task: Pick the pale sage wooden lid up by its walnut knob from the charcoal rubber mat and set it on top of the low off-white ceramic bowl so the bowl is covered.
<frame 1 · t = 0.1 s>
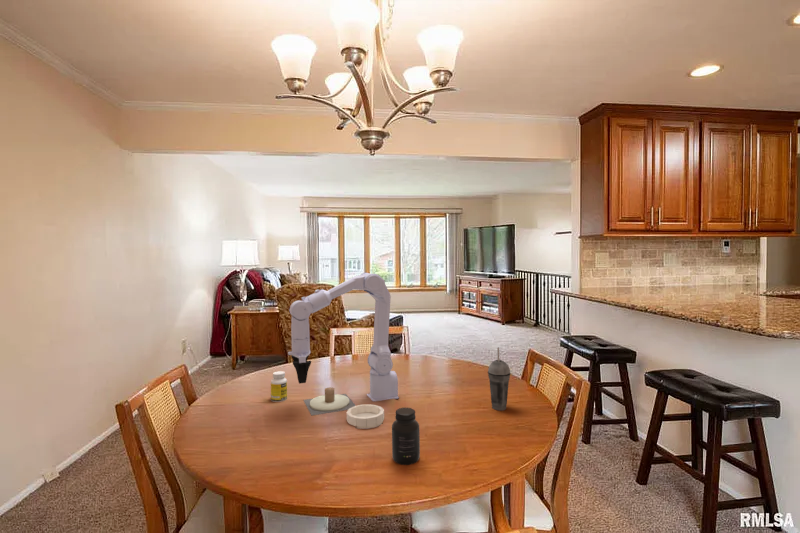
hand: (301, 379, 133), 10 cm above the table, tool pointing down, fingers open, 7 cm apart
supplement bottle: (406, 459, 101), on the table
bowl: (365, 420, 124), on the table
mat: (329, 405, 137), on the table
lid: (329, 403, 137), point 1 cm above the table, touching mat
supplement bottle 2: (279, 401, 143), on the table
beverage cup: (499, 408, 134), on the table
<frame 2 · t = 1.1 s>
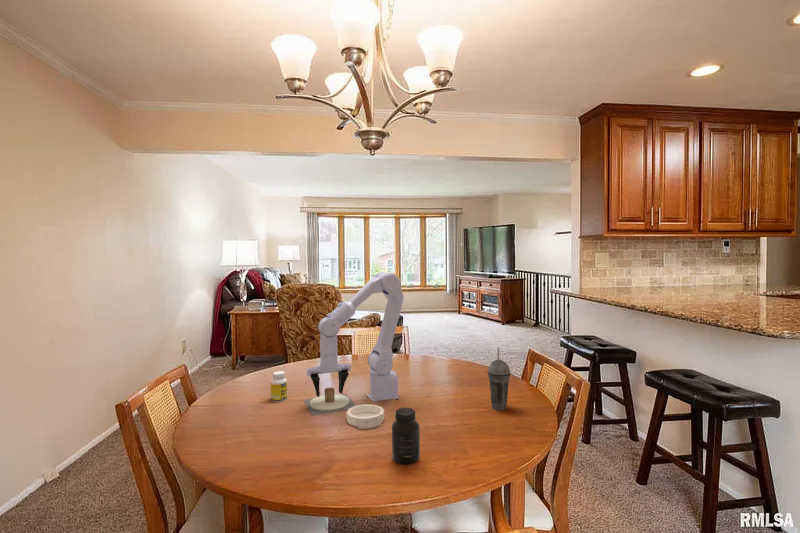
hand: (329, 394, 137), 4 cm above the table, tool pointing down, fingers open, 7 cm apart
nothing on the table moved.
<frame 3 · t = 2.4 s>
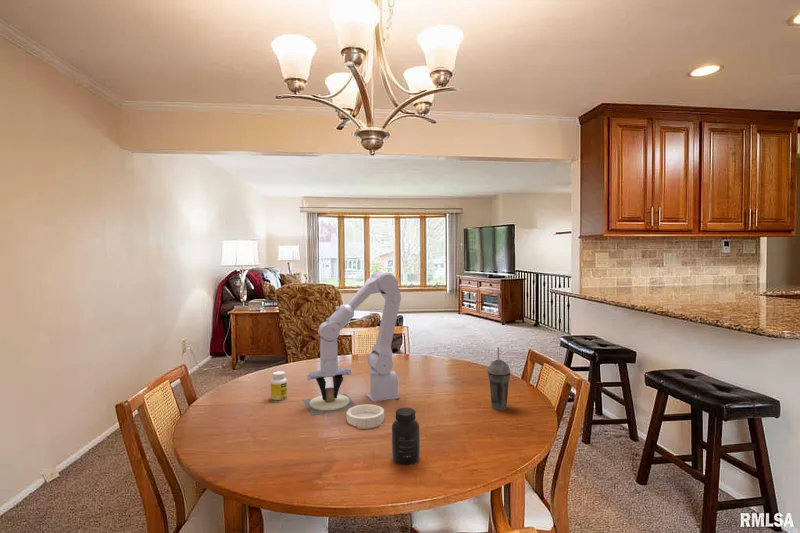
hand: (329, 398, 137), 2 cm above the table, tool pointing down, fingers closed on lid, 3 cm apart
lid: (329, 403, 137), point 1 cm above the table, touching gripper, mat
everything else where it was.
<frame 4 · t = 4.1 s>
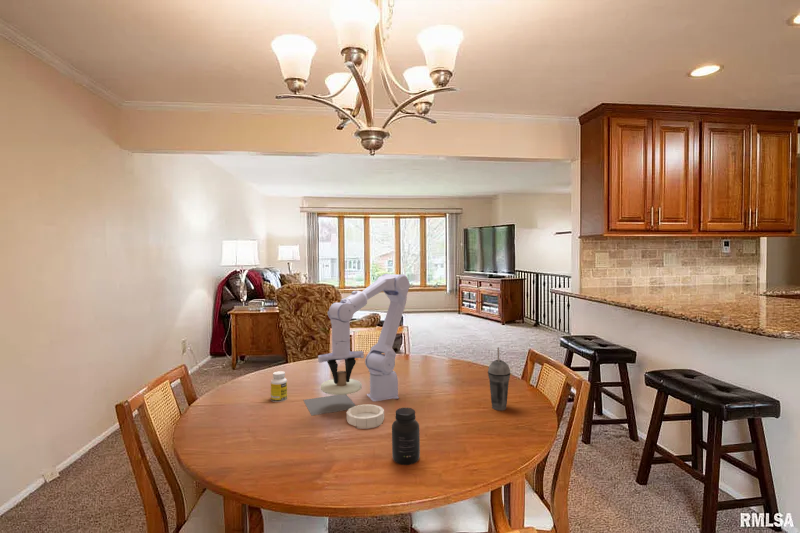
hand: (341, 382, 132), 9 cm above the table, tool pointing down, fingers closed on lid, 3 cm apart
lid: (341, 387, 132), point 8 cm above the table, touching gripper
everything else where it was.
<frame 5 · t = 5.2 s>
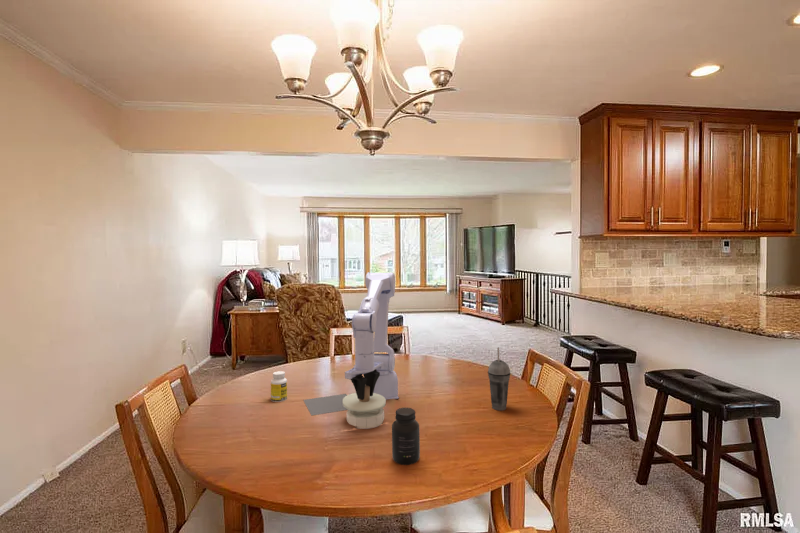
hand: (365, 397, 124), 7 cm above the table, tool pointing down, fingers closed on lid, 3 cm apart
lid: (364, 403, 124), point 5 cm above the table, touching gripper
everything else where it was.
when the fingers open (6 cm above the table, at t = 6.1 s): lid drops 1 cm, resting on bowl.
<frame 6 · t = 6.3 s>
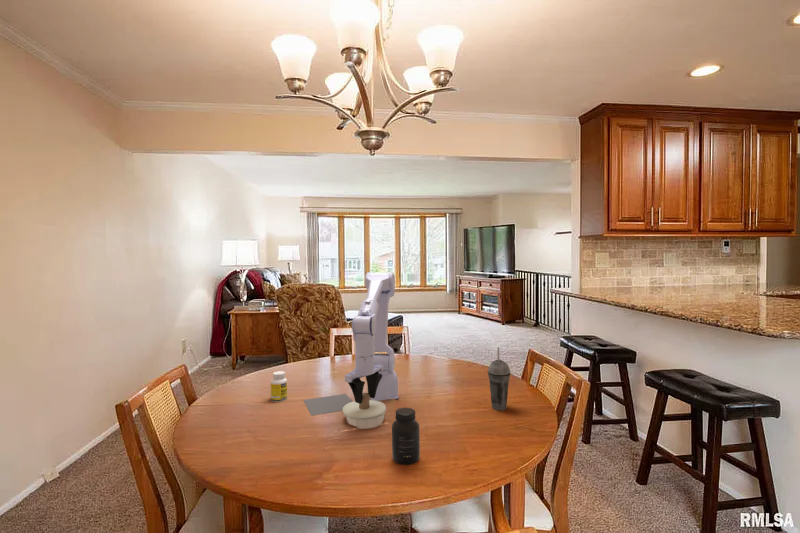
hand: (365, 400, 124), 6 cm above the table, tool pointing down, fingers open, 5 cm apart
lid: (364, 410, 125), point 3 cm above the table, touching bowl
everything else where it was.
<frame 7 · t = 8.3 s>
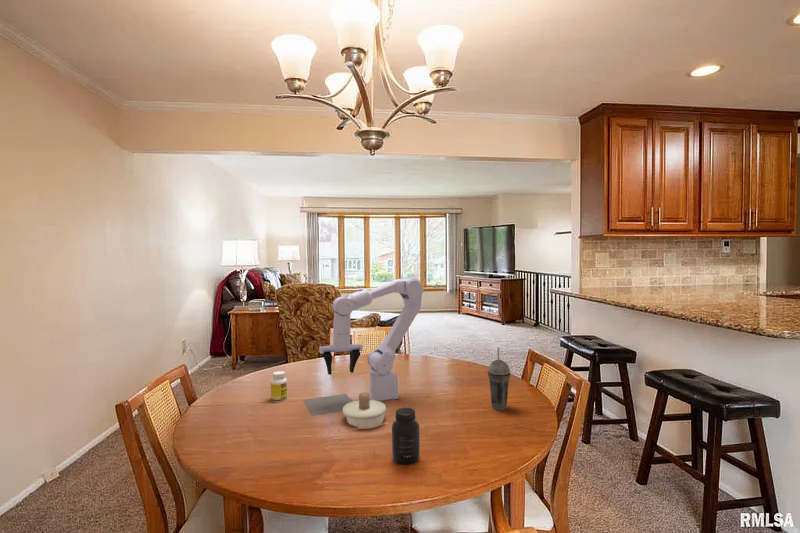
hand: (340, 373, 139), 10 cm above the table, tool pointing down, fingers open, 7 cm apart
nothing on the table moved.
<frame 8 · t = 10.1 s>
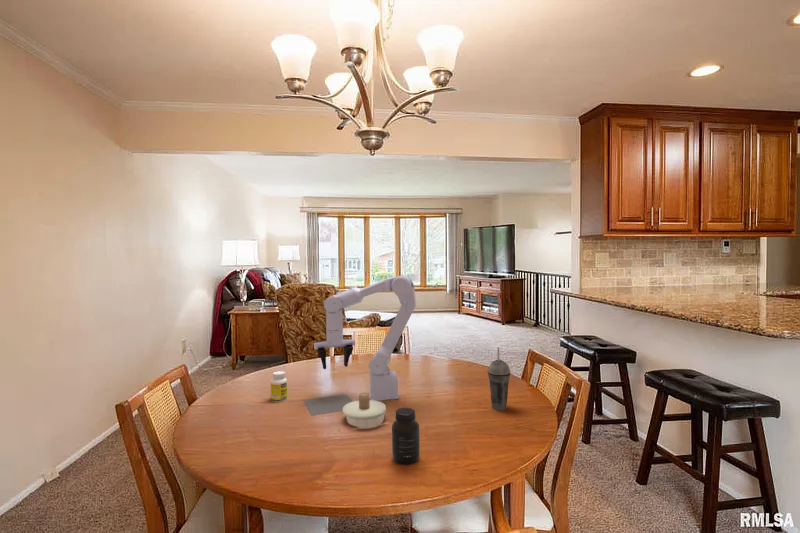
hand: (335, 367, 146), 10 cm above the table, tool pointing down, fingers open, 7 cm apart
nothing on the table moved.
at the end: lid 0.4 cm off-centre on the bowl, point 3.0 cm above the bowl's base; lid tilted 0°; the gripper is holding nothing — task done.
